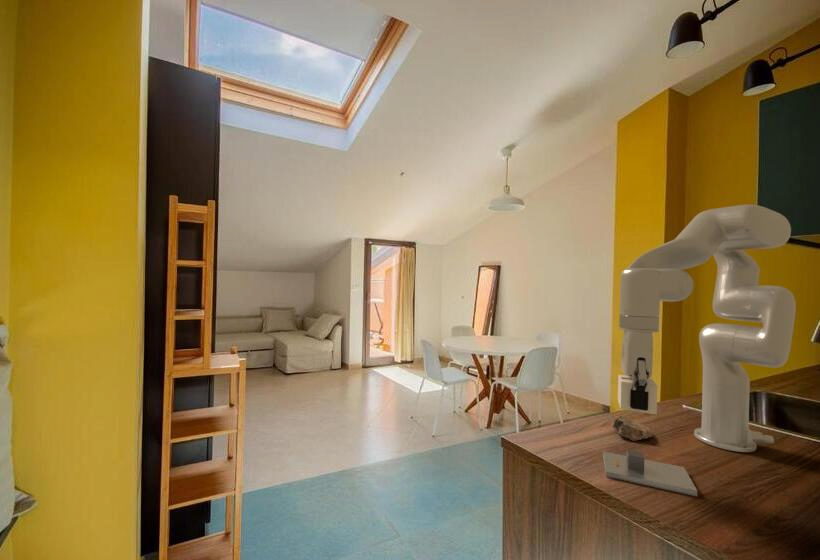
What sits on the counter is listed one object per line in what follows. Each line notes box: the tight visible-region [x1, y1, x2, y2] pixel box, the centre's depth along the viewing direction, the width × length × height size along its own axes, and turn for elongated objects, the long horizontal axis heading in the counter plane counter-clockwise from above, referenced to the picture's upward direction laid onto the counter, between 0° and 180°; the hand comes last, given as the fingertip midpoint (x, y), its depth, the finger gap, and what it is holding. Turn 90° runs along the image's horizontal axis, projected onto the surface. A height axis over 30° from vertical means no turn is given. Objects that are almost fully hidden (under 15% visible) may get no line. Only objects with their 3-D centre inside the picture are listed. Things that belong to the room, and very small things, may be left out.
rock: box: [612, 415, 654, 442], centre depth 101 cm, size 9×6×10 cm
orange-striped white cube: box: [617, 374, 658, 415], centre depth 81 cm, size 7×7×6 cm
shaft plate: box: [602, 449, 698, 497], centre depth 80 cm, size 16×10×4 cm, turn 65°
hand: (636, 403), depth 81 cm, fingers closed on orange-striped white cube, 6 cm apart
